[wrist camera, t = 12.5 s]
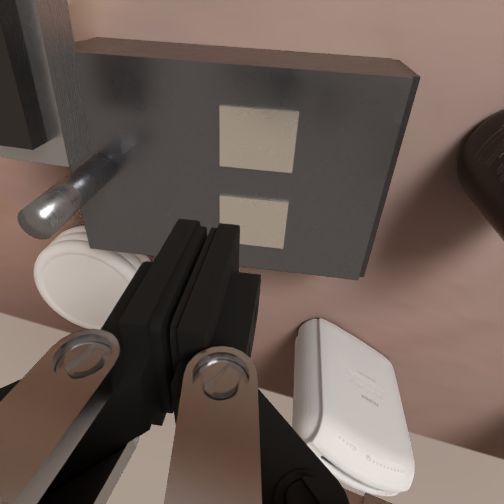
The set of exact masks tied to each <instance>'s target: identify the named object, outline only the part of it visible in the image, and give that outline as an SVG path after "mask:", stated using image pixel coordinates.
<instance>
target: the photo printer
mask: <svg viewBox="0 0 504 504" xmlns="http://www.w3.org/2000/svg"><path fill="white" fill-rule="evenodd" d="M294 364H295V365H294V396H293V423H292V428H293V429H294V430H295V432H296V433H297V434H298V435H299V436H300V437H301V438H302V440H303V441H304V442H305V443H306V444H307V445H308V446H309V448H310V449H311V450H312V451H313V452H314V453H315V455H316V456H317V457H318V458H319V459H320V460H321V461H322V463H323V464H324V465H325V466H326V467H327V468H328V469H329V471H330V472H331V473H332V474H333V475H334V476H335V477H336V479H337V480H339V481H340V482H342V483H344V484H346V485H348V486H350V487H352V488H354V489H357V490H359V491H362V492H365V493H369V494H373V495H378V496H396V495H397V494H398V493H400V492H406V491H407V490H408V489H409V488H410V486H411V484H412V481H413V478H414V473H415V462H414V456H413V452H412V448H411V443H410V438H409V434H408V429H407V425H406V421H405V416H404V412H403V407H402V403H401V399H400V394H399V390H398V385H397V381H396V377H395V373H394V369H393V366H392V364H391V363H390V361H389V360H388V359H387V358H385V357H384V356H383V355H382V354H380V353H379V352H377V351H376V350H374V349H373V348H371V347H370V346H368V345H367V344H365V343H364V342H362V341H360V340H359V339H357V338H356V337H354V336H352V335H351V334H349V333H348V332H346V331H344V330H343V329H341V328H339V327H338V326H336V325H334V324H332V323H330V322H329V321H326V320H324V319H322V318H320V319H311V320H309V321H307V322H305V323H304V324H302V325H301V327H300V328H299V331H298V336H297V337H296V340H295V362H294Z"/></svg>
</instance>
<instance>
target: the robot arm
mask: <svg viewBox="0 0 504 504" xmlns="http://www.w3.org/2000/svg"><path fill="white" fill-rule="evenodd" d="M239 247H240V225H233V224H224V223H219V225H218V228H213V227H212V228H211V229H210V232H209V234H208V236H207V228H206V227H204V226H201V224H200V221H197V220H188V219H178V221H177V222H176V224H175V226H174V227H173V229H172V231H171V233H170V234H169V236H168V238H167V239H166V241H165V243H164V245H163V246H162V248H161V250H160V251H159V253H158V255H157V257H156V258H155V260H154V262H149V261H145V262H143V263H142V264H141V265H140V267H139V268H138V270H137V272H136V273H135V275H134V277H133V278H132V280H131V281H130V283H129V285H128V286H127V288H126V289H125V291H124V293H123V294H122V296H121V297H120V299H119V301H118V302H117V304H116V305H115V307H114V309H113V310H112V312H111V313H110V315H109V317H108V318H107V320H106V321H105V323H104V325H103V326H102V328H101V329H100V330H99V329H86V330H81V331H78V332H74V333H71V334H70V335H68V336H66V337H64V338H62V339H61V340H59V341H58V342H57V343H56V344H55V345H53V346H52V347H51V348H50V349H49V351H48V352H47V353H46V354H45V355H44V356H43V357H42V358H41V359H40V360H39V361H38V362H37V363H36V364H35V365H34V367H33V368H32V369H31V370H30V371H29V372H28V373H27V374H26V375H25V377H23V378H22V379H21V380H18V381H16V382H14V383H12V384H9V385H7V386H5V387H3V388H0V504H106V502H107V500H108V498H109V496H110V495H111V493H112V491H113V489H114V487H115V485H116V484H117V482H118V480H119V478H120V476H121V474H122V473H123V471H124V469H125V467H126V465H127V463H128V461H129V460H130V458H131V456H132V454H133V452H134V450H135V449H136V446H137V443H138V441H139V436H140V435H142V434H143V433H145V432H146V431H148V430H150V427H151V424H154V425H160V426H162V424H163V421H164V418H165V415H166V413H173V412H174V415H175V423H176V429H175V436H174V442H173V449H172V455H171V462H170V469H169V475H168V481H167V488H166V494H165V501H164V504H392V503H389V502H387V501H385V500H382V499H380V498H377V497H375V496H372V495H370V494H368V493H365V494H364V496H360V495H358V494H356V493H353V492H351V491H349V490H346V489H344V488H343V487H342V486H341V485H340V483H339V481H338V480H337V479H336V477H335V476H334V475H333V474H332V473H331V472H330V471H329V469H328V468H327V467H326V466H325V465H324V464H323V463H322V461H321V460H320V459H319V458H318V457H317V456H316V455H315V453H314V452H313V451H312V450H311V449H310V448H309V446H308V445H307V444H306V443H305V442H304V441H303V440H302V438H301V437H300V436H299V435H298V434H297V433H296V432H295V430H294V429H293V428H292V427H291V426H290V425H289V424H288V422H287V421H286V420H285V419H284V418H283V417H282V415H281V414H280V413H279V412H278V411H277V410H276V409H275V408H274V406H273V405H272V404H271V403H270V402H269V401H268V399H267V398H266V397H265V396H264V395H263V394H262V393H261V391H260V390H259V389H258V378H257V371H256V367H255V365H254V363H253V362H252V360H251V359H250V358H251V352H252V346H253V340H254V334H255V328H256V321H257V314H258V306H259V295H260V283H261V275H258V274H249V273H241V272H239Z"/></svg>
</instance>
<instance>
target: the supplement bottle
mask: <svg viewBox="0 0 504 504" xmlns="http://www.w3.org/2000/svg"><path fill="white" fill-rule="evenodd" d="M458 178H459V181H460V184H461V186H462V188H463V189H464V191H465V192H466V194H467V195H468V197H469V198H470V199H471V200H472V202H473V203H474V204H475V205H476V207H477V208H478V209H479V210H480V212H481V213H482V214H483V216H484V217H485V218H486V219H487V221H488V222H489V223H490V224H491V226H492V227H493V228H494V229H495V231H496V232H497V233H498V234H499V236H500V237H501V238H502V240H503V241H504V110H502V111H500V112H498V113H496V114H494V115H493V116H491V117H490V118H488V119H487V120H485V121H484V122H483V123H482V124H481V125H480V126H479V127H477V128H476V129H475V131H474V132H473V133H472V134H471V135H470V137H469V138H468V139H467V141H466V143H465V144H464V146H463V148H462V150H461V153H460V156H459V160H458Z"/></svg>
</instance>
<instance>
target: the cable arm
mask: <svg viewBox="0 0 504 504" xmlns="http://www.w3.org/2000/svg"><path fill="white" fill-rule="evenodd" d="M90 151H92V150H91V144H90V138H89V132H88V126H87V119H86V113H85V107H84V101H83V95H82V89H81V83H80V77H79V71H78V64H77V58H76V52H75V46H74V40H73V34H72V28H71V22H70V16H69V10H68V3H67V0H0V154H1V157H2V158H9V159H16V160H23V161H30V162H37V163H44V164H52V165H59V166H66V167H70V166H71V165H72V164H74V163H75V162H77V161H78V160H79V159H81V158H82V157H83V156H85V155H86V154H88V153H89V152H90Z"/></svg>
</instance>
